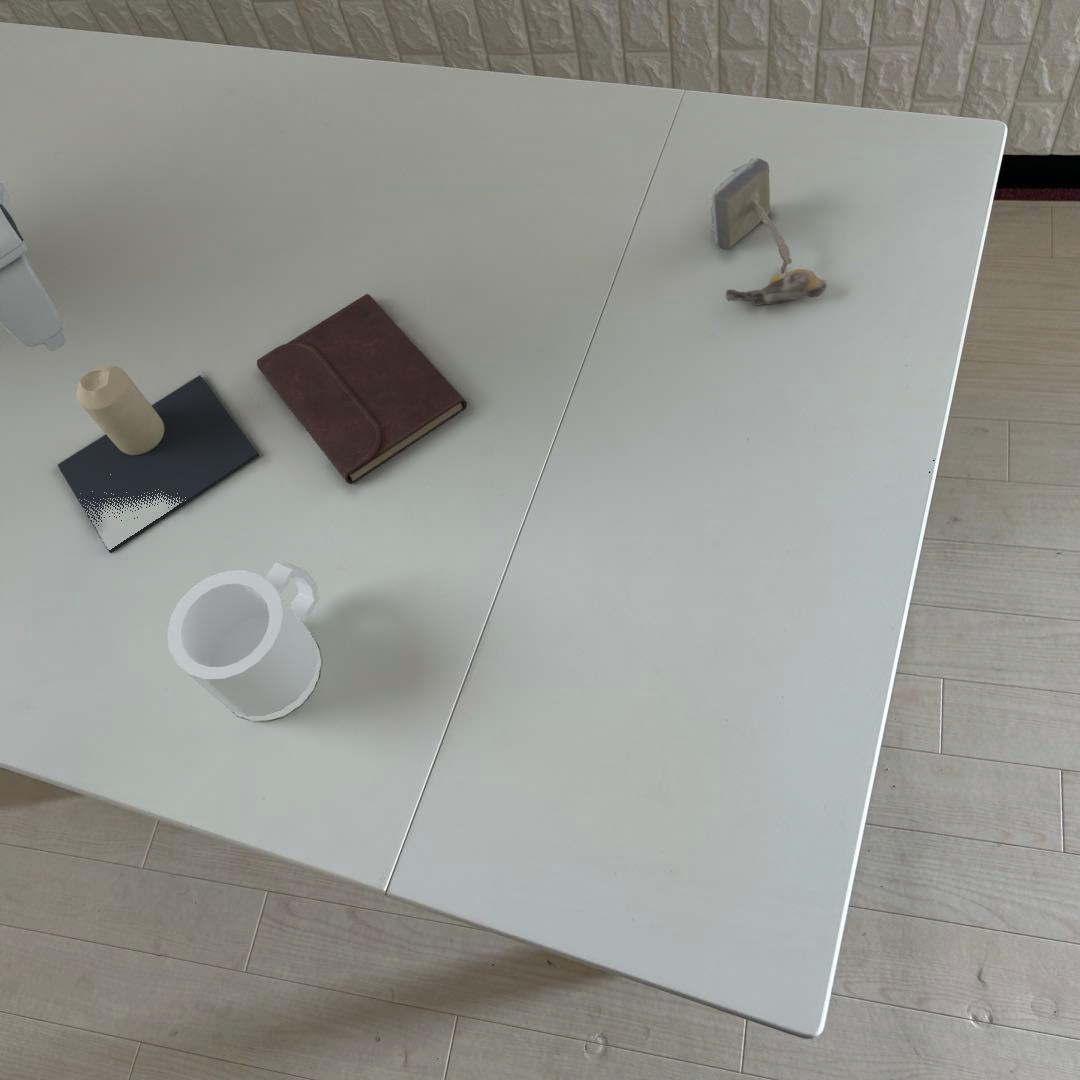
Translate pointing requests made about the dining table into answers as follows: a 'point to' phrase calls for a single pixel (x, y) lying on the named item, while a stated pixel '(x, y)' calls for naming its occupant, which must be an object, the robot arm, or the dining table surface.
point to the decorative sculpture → (738, 213)
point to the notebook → (360, 387)
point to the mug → (247, 638)
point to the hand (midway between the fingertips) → (37, 313)
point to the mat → (163, 457)
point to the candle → (120, 409)
